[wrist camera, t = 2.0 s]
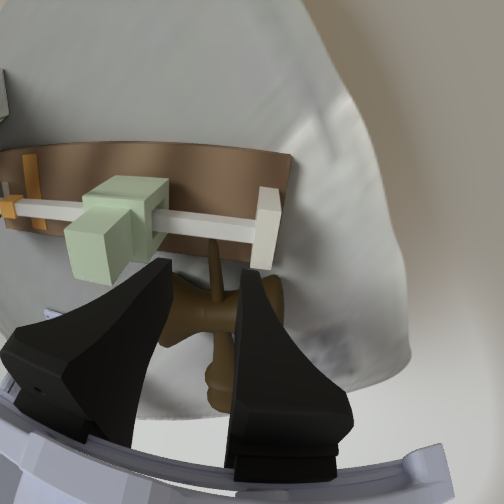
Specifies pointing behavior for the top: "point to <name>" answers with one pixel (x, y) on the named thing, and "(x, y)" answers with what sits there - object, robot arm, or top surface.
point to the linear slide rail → (174, 221)
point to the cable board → (149, 165)
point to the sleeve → (116, 227)
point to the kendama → (213, 323)
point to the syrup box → (3, 98)
